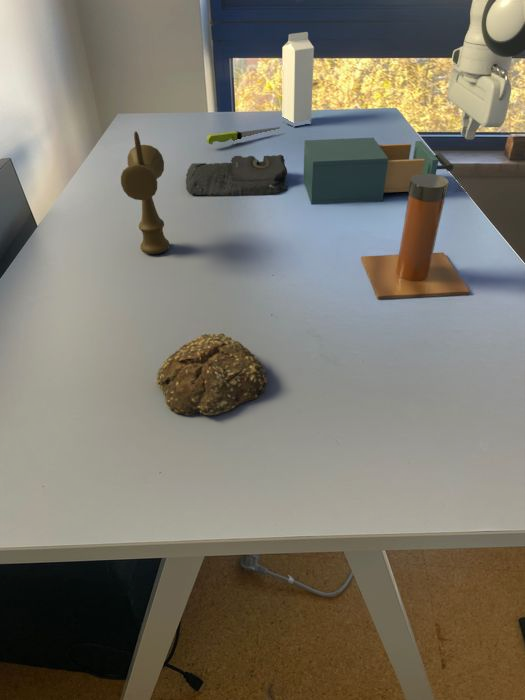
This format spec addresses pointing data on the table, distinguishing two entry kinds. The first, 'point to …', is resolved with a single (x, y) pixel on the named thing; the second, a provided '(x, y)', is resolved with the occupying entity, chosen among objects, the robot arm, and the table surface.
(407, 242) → the spice jar
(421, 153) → the drawer
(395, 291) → the wooden board
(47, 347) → the table surface
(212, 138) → the kitchen knife
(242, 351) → the bread roll
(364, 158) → the cabinet
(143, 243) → the kendama
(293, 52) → the milk
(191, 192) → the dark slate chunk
